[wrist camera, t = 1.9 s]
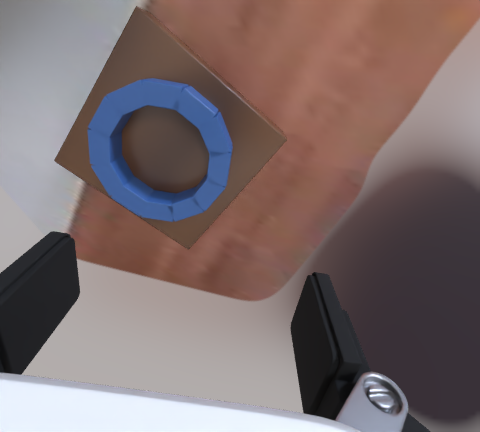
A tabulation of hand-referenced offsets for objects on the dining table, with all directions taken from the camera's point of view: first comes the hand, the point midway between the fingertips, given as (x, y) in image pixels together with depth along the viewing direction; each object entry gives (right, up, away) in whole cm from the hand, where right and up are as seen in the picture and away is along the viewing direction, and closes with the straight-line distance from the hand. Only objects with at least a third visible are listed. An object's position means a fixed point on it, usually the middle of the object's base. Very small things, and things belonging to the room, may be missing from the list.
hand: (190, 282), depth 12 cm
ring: (-4, +8, +12) cm, 15 cm away
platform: (-4, +9, +15) cm, 18 cm away
